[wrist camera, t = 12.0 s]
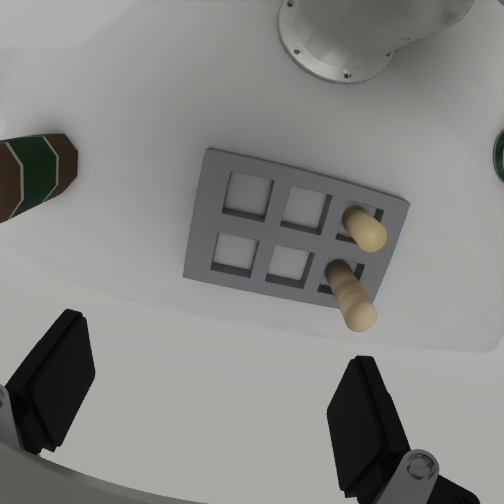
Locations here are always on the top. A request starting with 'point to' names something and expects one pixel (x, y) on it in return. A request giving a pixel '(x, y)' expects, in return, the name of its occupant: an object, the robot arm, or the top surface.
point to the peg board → (291, 230)
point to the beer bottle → (34, 171)
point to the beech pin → (350, 296)
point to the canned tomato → (499, 156)
